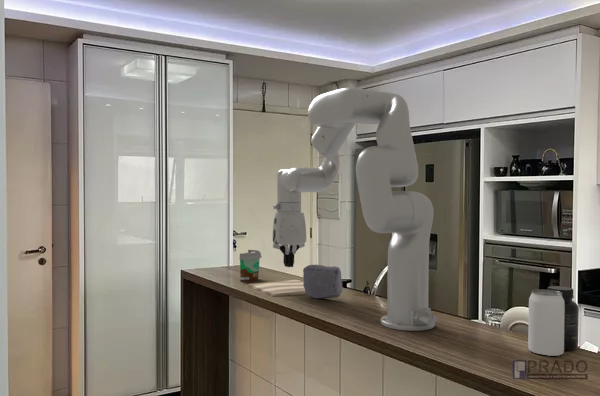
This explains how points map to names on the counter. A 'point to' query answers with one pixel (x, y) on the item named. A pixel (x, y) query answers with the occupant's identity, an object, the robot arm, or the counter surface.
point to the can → (546, 322)
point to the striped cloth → (280, 288)
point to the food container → (249, 265)
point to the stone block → (322, 281)
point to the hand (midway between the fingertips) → (288, 266)
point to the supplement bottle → (569, 317)
